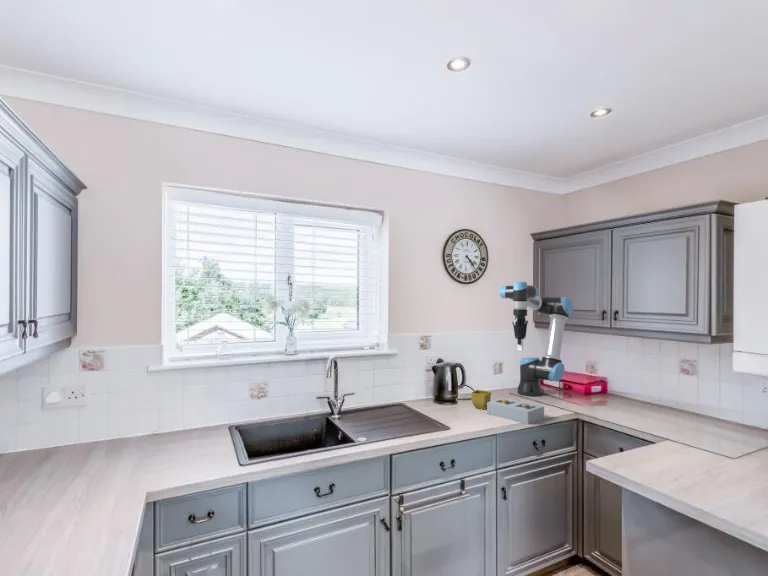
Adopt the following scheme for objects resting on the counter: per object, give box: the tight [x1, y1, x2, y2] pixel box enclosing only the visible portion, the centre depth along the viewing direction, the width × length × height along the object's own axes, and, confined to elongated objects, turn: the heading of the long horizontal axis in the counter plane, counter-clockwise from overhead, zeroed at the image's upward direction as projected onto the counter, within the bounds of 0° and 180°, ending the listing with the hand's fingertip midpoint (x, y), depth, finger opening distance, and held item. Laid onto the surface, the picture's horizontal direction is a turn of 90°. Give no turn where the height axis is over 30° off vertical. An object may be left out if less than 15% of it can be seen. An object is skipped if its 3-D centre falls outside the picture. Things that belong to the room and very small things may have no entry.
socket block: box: [486, 397, 545, 425], centre depth 224 cm, size 16×24×6 cm, turn 41°
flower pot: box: [470, 389, 492, 410], centre depth 239 cm, size 9×9×9 cm
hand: (520, 350), depth 240 cm, fingers closed
